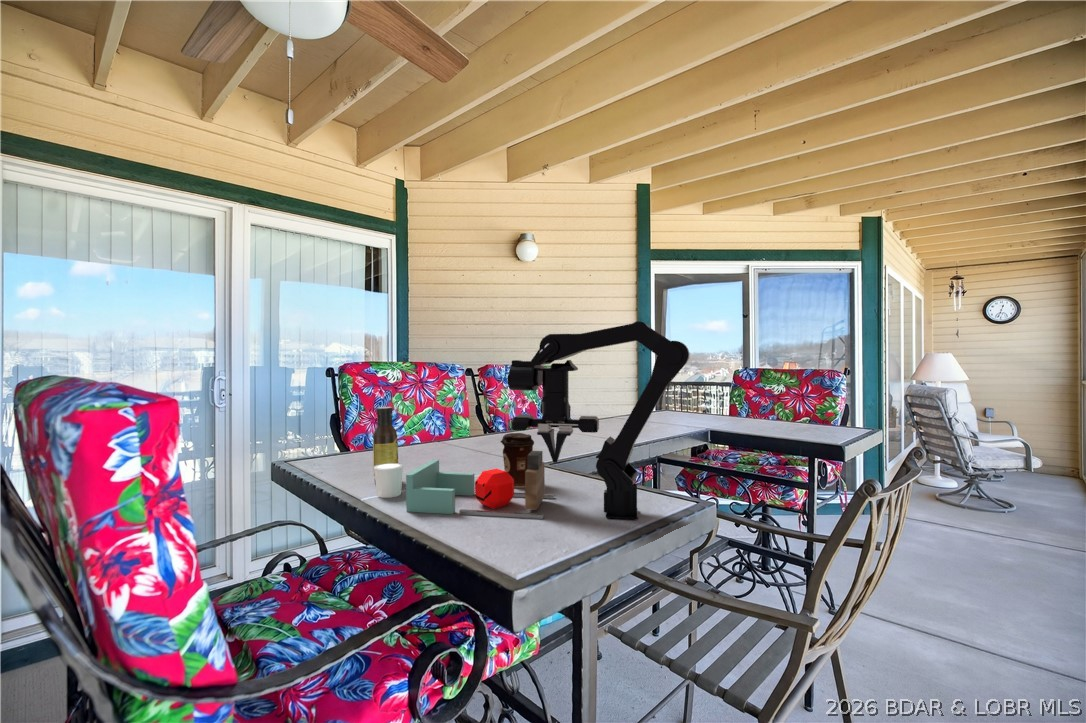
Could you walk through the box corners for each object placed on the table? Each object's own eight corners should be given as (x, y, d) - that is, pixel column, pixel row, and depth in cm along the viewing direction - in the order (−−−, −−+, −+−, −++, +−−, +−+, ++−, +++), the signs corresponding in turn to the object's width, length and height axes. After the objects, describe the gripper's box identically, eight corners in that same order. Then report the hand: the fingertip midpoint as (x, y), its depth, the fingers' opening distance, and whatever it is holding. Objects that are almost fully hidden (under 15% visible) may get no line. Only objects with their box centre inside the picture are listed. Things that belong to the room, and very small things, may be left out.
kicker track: (554, 497, 117) (554, 494, 117) (542, 519, 103) (542, 515, 103) (480, 494, 121) (480, 490, 121) (459, 514, 106) (459, 510, 106)
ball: (470, 504, 113) (469, 471, 112) (498, 497, 118) (498, 465, 118) (490, 513, 107) (490, 477, 106) (519, 505, 112) (519, 471, 112)
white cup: (400, 488, 126) (400, 461, 126) (406, 495, 120) (406, 466, 120) (371, 492, 123) (371, 464, 122) (377, 500, 116) (376, 470, 116)
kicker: (544, 496, 115) (544, 448, 115) (536, 509, 105) (536, 458, 105) (534, 495, 116) (534, 448, 115) (525, 509, 106) (525, 457, 106)
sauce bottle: (402, 482, 132) (401, 407, 131) (380, 487, 128) (379, 409, 127) (391, 477, 137) (390, 405, 136) (369, 482, 132) (368, 407, 132)
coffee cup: (498, 489, 125) (498, 437, 124) (502, 480, 133) (502, 432, 133) (533, 489, 124) (533, 437, 124) (535, 480, 133) (535, 432, 132)
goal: (474, 493, 121) (474, 461, 121) (452, 514, 106) (452, 476, 106) (433, 491, 123) (433, 459, 123) (406, 511, 108) (406, 474, 108)
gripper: (600, 389, 115) (600, 456, 116) (521, 388, 119) (522, 453, 119) (597, 393, 104) (597, 467, 105) (510, 392, 108) (510, 463, 108)
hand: (555, 462), depth 110 cm, fingers closed
